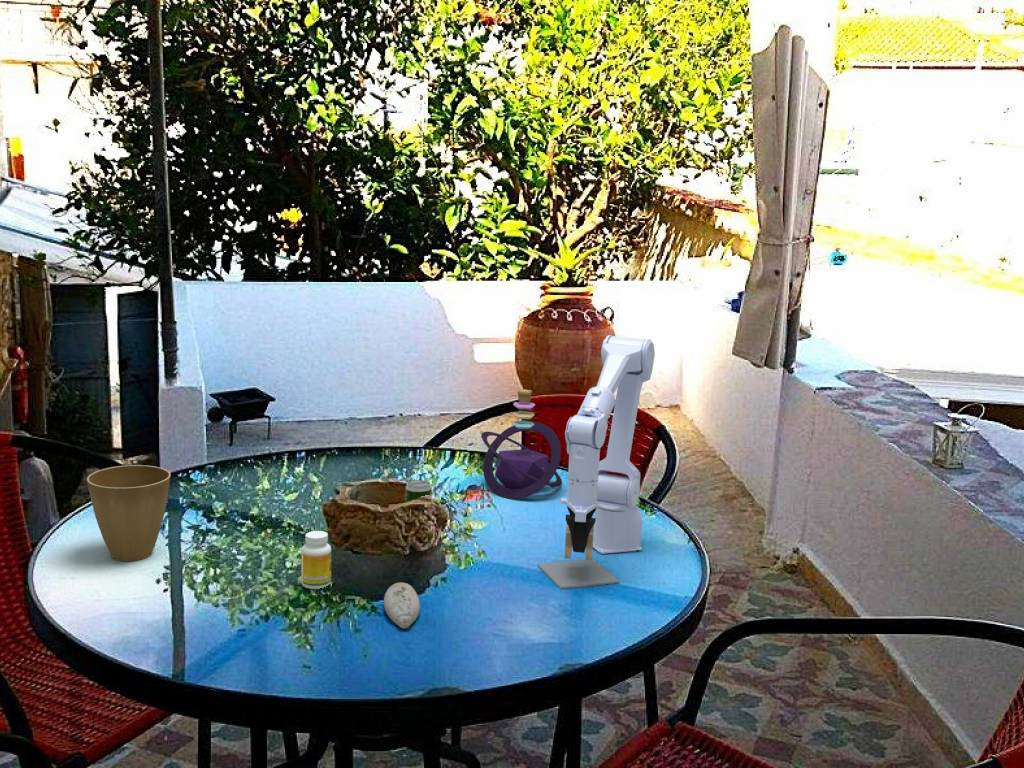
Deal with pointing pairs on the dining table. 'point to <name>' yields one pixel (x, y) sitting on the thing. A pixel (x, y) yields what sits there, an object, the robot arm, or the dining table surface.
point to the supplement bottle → (316, 561)
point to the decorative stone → (402, 604)
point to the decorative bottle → (521, 457)
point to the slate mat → (577, 574)
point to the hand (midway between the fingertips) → (579, 546)
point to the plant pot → (129, 508)
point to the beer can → (417, 489)
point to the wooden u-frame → (569, 544)
